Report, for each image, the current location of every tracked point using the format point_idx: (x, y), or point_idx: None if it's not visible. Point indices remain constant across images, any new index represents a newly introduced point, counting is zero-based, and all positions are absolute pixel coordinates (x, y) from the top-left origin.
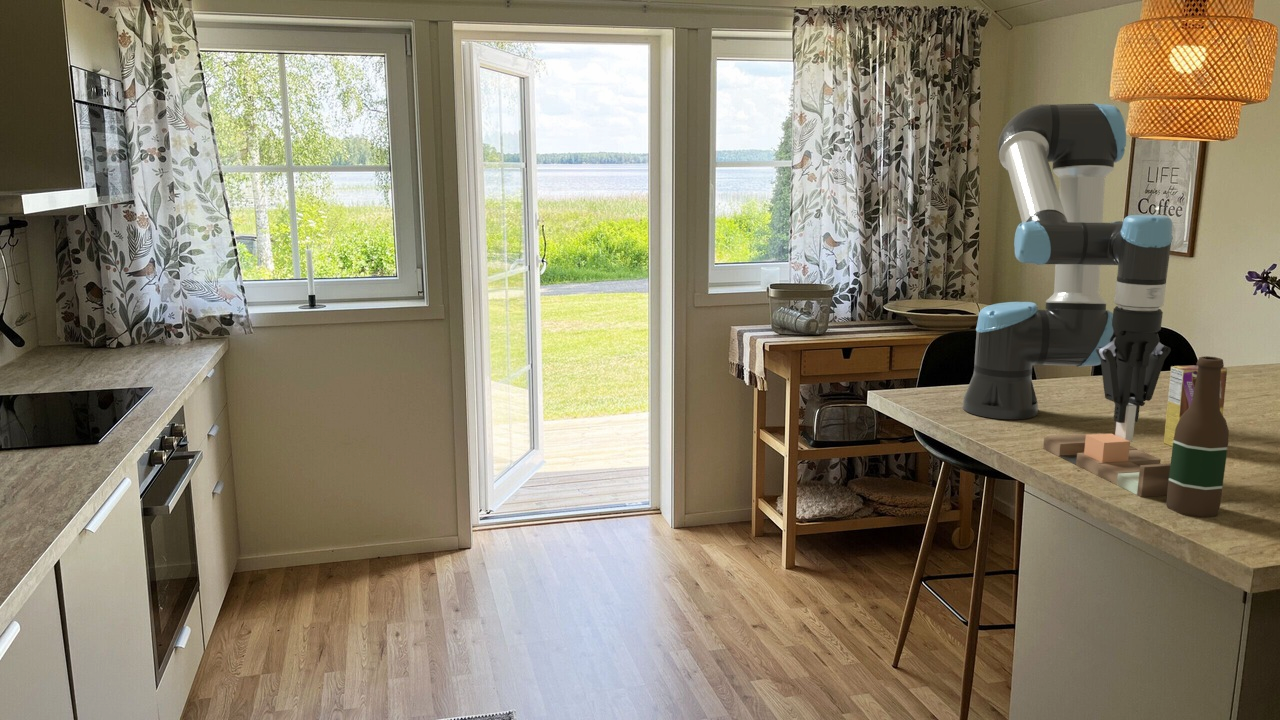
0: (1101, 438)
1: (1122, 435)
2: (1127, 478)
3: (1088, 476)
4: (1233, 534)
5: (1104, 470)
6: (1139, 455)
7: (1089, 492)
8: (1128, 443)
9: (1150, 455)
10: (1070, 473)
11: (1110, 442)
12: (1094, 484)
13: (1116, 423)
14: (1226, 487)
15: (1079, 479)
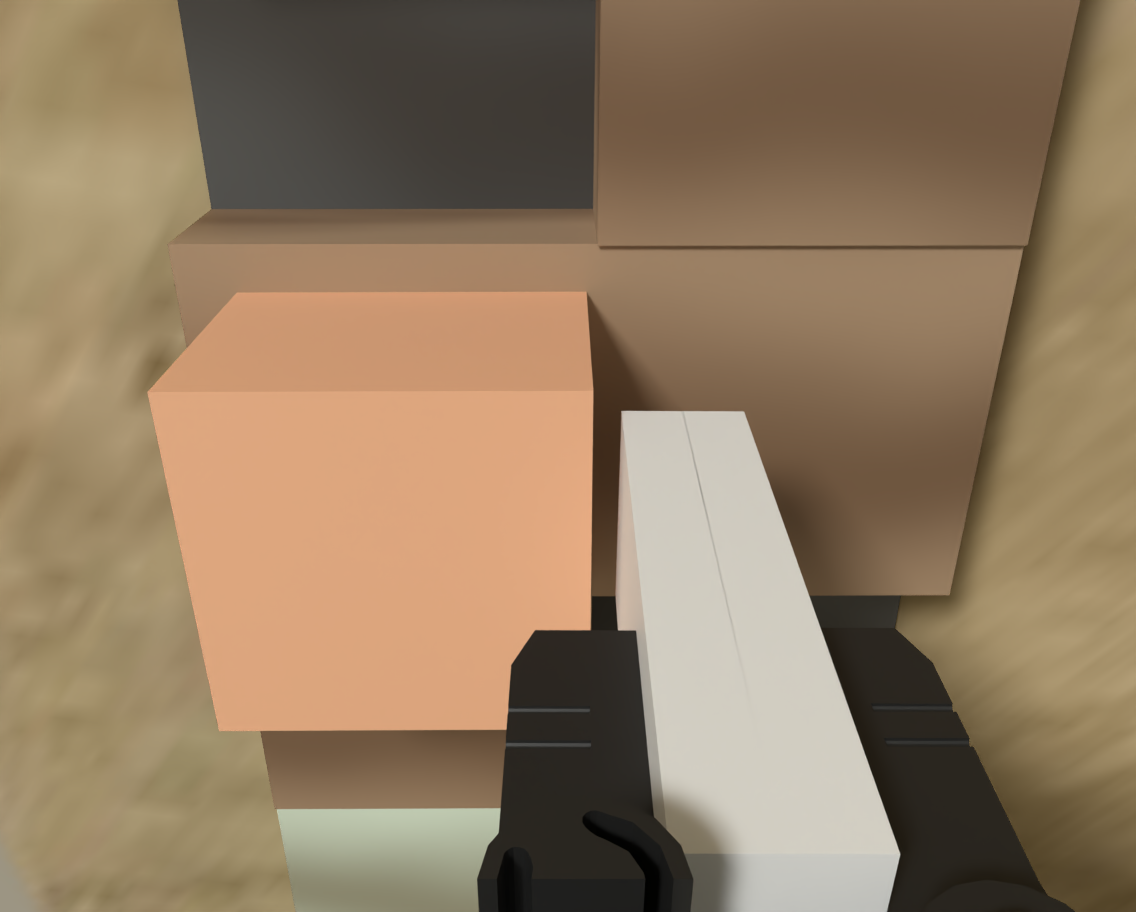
0: (290, 575)
1: (621, 588)
2: (294, 885)
3: (173, 529)
4: None
5: None
6: (844, 453)
7: (7, 814)
8: None
9: (962, 473)
10: (37, 432)
11: (309, 728)
12: (127, 693)
13: (632, 534)
14: (1066, 872)
15: (53, 580)
